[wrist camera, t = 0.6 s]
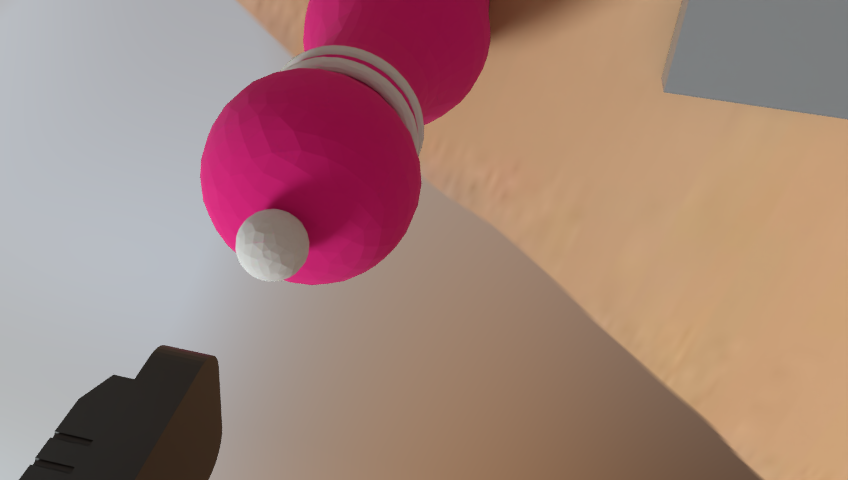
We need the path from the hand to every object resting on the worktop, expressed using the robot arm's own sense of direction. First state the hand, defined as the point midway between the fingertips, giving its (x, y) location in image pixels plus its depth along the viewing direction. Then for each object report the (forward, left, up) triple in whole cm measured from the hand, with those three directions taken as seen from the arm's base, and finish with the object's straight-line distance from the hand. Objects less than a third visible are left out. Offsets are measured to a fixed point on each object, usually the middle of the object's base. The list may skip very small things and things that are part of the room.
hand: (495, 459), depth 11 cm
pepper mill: (+3, -6, -27) cm, 28 cm away
